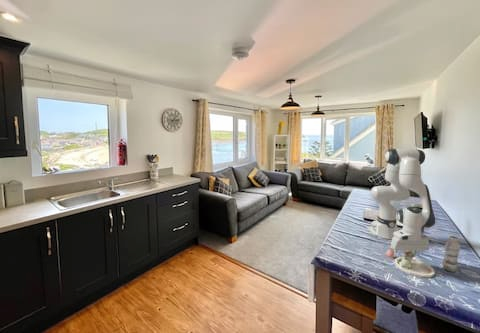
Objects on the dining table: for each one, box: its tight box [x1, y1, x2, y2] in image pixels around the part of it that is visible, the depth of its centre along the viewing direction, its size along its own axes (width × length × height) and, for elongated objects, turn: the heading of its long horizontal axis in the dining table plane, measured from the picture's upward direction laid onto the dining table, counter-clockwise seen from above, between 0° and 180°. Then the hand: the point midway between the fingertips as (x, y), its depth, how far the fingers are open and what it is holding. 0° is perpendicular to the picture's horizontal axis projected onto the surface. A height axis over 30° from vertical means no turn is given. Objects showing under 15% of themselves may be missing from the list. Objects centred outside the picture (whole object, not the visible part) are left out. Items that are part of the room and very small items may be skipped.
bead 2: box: [404, 251, 413, 261], centre depth 133 cm, size 4×4×5 cm
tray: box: [394, 256, 436, 279], centre depth 129 cm, size 18×18×2 cm
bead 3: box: [401, 258, 410, 269], centre depth 129 cm, size 4×4×5 cm
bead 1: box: [386, 248, 395, 259], centre depth 140 cm, size 4×4×5 cm
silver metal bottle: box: [441, 235, 461, 273], centre depth 127 cm, size 6×7×20 cm
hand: (408, 256), depth 133 cm, fingers closed on bead 2, 3 cm apart
